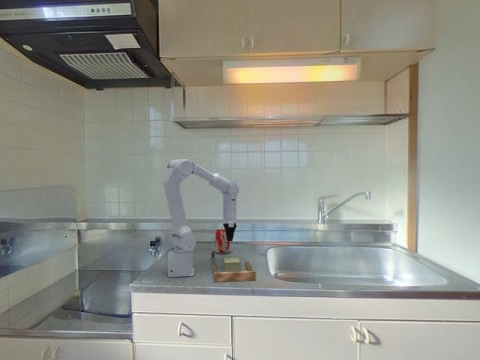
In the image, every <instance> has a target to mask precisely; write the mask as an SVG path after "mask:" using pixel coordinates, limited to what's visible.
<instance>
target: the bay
mask: <svg viewBox="0 0 480 360" xmlns="http://www.w3.org/2000/svg"><path fill="white" fill-rule="evenodd" d="M244 266H245V268H246V270H242V271H236V272H225V271H218V265H217V262H215V263H212V273H213V282H214V283H221V282H222V283H224V282H246V281H247V282H249V281H256V277H257V276H256V275H257V272H256V270H254V269H253V268H252V266H251V264H250V262H249V261H245V262H244Z"/></svg>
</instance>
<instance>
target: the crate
mask: <svg viewBox="0 0 480 360" xmlns="http://www.w3.org/2000/svg"><path fill="white" fill-rule="evenodd" d="M241 264H242V262H241V260H240V258H239V256H229V257H227V256H226V257H222V267H223V270H224V272H236V271H241V270H242V269H241V267H242V266H241Z"/></svg>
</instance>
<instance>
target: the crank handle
mask: <svg viewBox="0 0 480 360" xmlns="http://www.w3.org/2000/svg"><path fill="white" fill-rule="evenodd" d="M215 253H216V251H214V250H213V251H211V252H210V254H211V256H210V257H211V264H213V263H216V257H215V256H216V255H215Z"/></svg>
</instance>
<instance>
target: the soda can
mask: <svg viewBox="0 0 480 360" xmlns="http://www.w3.org/2000/svg"><path fill="white" fill-rule="evenodd" d="M214 234H215V236H214V237H215V241H214V242H215V245H214V247H215V253H218V254H220V255H226V254H227V255H228V253H230V252H231V241H227V238H226V232H225V228H224V226H217V227H216V230H215V233H214Z"/></svg>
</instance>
